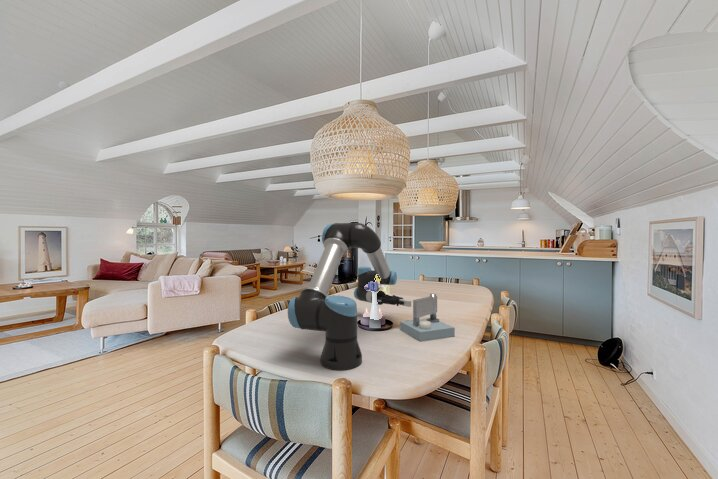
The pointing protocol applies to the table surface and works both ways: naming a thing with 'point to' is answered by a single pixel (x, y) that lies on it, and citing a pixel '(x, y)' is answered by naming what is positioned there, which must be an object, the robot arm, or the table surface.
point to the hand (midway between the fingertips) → (410, 303)
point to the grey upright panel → (424, 308)
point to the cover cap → (425, 324)
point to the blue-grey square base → (427, 330)
